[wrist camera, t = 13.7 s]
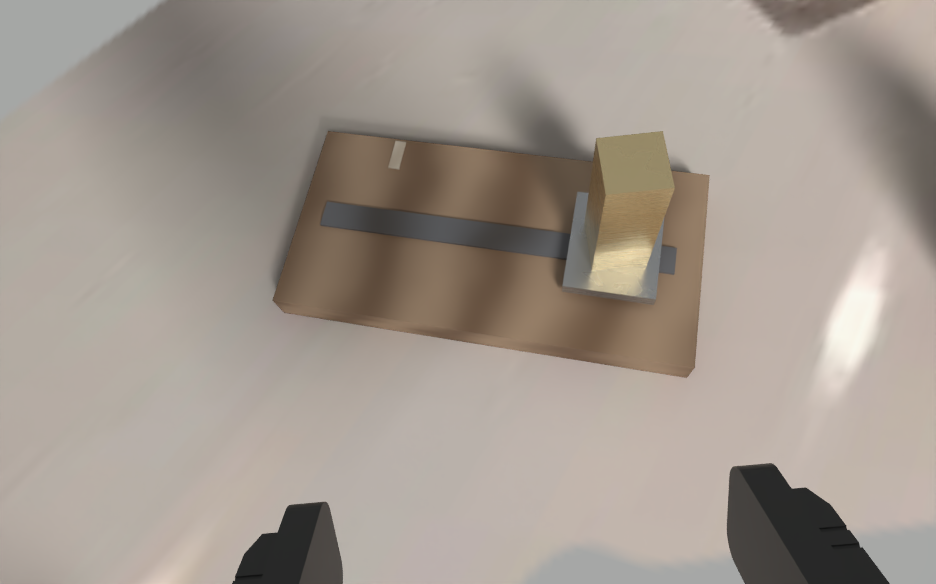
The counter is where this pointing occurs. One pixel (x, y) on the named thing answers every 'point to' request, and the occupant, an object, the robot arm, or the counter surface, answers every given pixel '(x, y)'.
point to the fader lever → (621, 220)
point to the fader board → (482, 254)
